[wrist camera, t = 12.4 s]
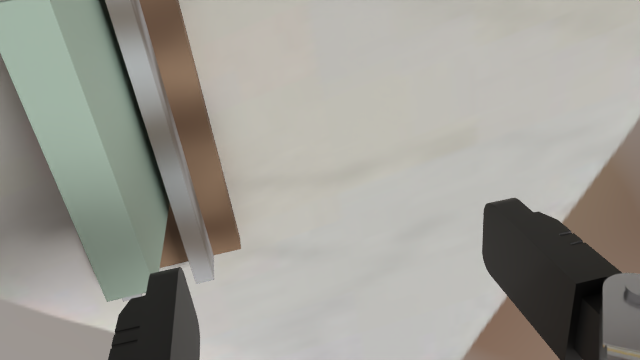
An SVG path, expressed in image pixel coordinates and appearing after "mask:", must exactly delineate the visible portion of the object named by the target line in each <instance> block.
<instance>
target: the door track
mask: <svg viewBox="0 0 640 360" xmlns="http://www.w3.org/2000/svg"><path fill="white" fill-rule="evenodd" d="M0 1H1V0H0ZM105 2H106V5H107V8H108V11H109V14H110V18H111V21H112V24H113V27H114V30H115V33H116V36H117V39H118V42H119V46H120V49H121V52H122V55H123V58H124V61H125V64H126V67H127V71H128V74H129V77H130V80H131V83H132V86H133V89H134V92H135V95H136V99H137V102H138V105H139V108H140V111H141V114H142V117H143V120H144V123H145V127H146V130H147V133H148V136H149V139H150V142H151V145H152V148H153V151H154V155H155V158H156V161H157V164H158V167H159V170H160V173H161V176H162V179H163V183H164V186H165V189H166V192H167V195H168V198H169V201H170V205H169V211H168V218H167V224H166V230H165V237H164V243H163V250H162V256H161V262H160V268H161V267H165V266H170V265H174V264H178V263H182V262H187V261H189V264H190V267H191V270H192V273H193V276H194V279H195V282H196V284H198V283H202V282H206V281H210V280H214V255H216V254H221V253H225V252H229V251H234V250H238V249H241V244H240V237H239V233H238V229H237V225H236V221H235V217H234V214H233V210H232V206H231V202H230V198H229V194H228V190H227V187H226V183H225V179H224V175H223V171H222V167H221V163H220V160H219V156H218V152H217V148H216V144H215V140H214V136H213V133H212V129H211V125H210V121H209V117H208V113H207V109H206V106H205V102H204V98H203V94H202V90H201V86H200V82H199V79H198V75H197V71H196V67H195V63H194V59H193V55H192V52H191V48H190V44H189V40H188V36H187V32H186V28H185V25H184V21H183V17H182V13H181V9H180V5H179V1H178V0H105ZM141 296H142V294H138V295H133V296H129V297H125V298H122V300H123V301H127V300H130V299H131V298H136V297H141Z"/></svg>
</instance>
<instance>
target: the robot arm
mask: <svg viewBox="0 0 640 360" xmlns="http://www.w3.org/2000/svg"><path fill="white" fill-rule="evenodd" d="M482 254H483V260H484V263H485V266H486V268H487V270H488V272H489V274H490V275H491V276H492V277H493V279H494V280H495V281H496V282H497V284H498V285H499V286H500V287H501V288H502V290H503V291H504V292H505V293H506V294H507V296H508V297H509V298H510V299H511V301H512V302H513V303H514V304H515V305H516V307H517V308H518V309H519V310H520V311H521V313H522V314H523V315H524V316H525V317H526V319H527V320H528V321H529V322H530V324H531V325H532V326H533V327H534V328H535V330H536V331H537V332H538V333H539V334H540V336H541V337H542V338H543V339H544V341H545V342H546V343H547V344H548V345H549V347H550V348H551V349H552V350H553V352H554V353H555V354H556V355H557V356H558V358H559V359H560V360H640V274H635V273H622V272H620V271H619V270H618V269H617V268H615V267H614V266H613V265H612V264H611V263H609V262H608V261H607V260H606V259H605V258H603V257H602V256H601V255H600V254H598V253H597V252H596V251H595V250H594V249H592V248H591V247H590V246H589V245H588V244H586V243H583V242H582V240H581V239H580V238H579V237H578V236H577V235H575V234H574V233H573V234H572V233H571V231H570V230H569V229H568V228H567V227H566V226H564V225H563V224H562V223H561V222H560V221H558V220H557V219H554V218H552V217H550V216H547V215H545V214H543V213H540V212H532V211H531V210H530V209H529V208H528V207H527V206H525V205H524V204H523V203H522V202H521V201H520V200H518V199H517V198H510V199H506V200H501V201H496V202H491V203H487V204H486V205H485V208H484V220H483V246H482ZM199 357H200V332H199V324H198V319H197V315H196V311H195V308H194V305H193V302H192V298H191V295H190V292H189V288H188V285H187V282H186V278H185V275H184V272H183V270H182V268H181V267H179V268H174V269H170V270H165V271H160V272H155V273H151V274H150V275H149V279H148V285H147V291H146V295H145V296H141V297H136V298H131V299H130V301H129V302H128V303H127V305H126V306H125V307H124V309H123V310H122V311H121V313H120V314H119V316H118V321H117V325H116V329H115V335H114V337H113V342H112V349H111V350H110V354H109V358H108V360H199Z"/></svg>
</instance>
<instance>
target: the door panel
mask: <svg viewBox="0 0 640 360" xmlns="http://www.w3.org/2000/svg"><path fill="white" fill-rule="evenodd" d="M0 53H1V56H2V58H3V60H4V63H5V65H6V67H7V70H8V72H9V74H10V77H11V79H12V81H13V84H14V86H15V88H16V91H17V93H18V95H19V98H20V100H21V102H22V105H23V107H24V109H25V112H26V114H27V116H28V119H29V121H30V123H31V126H32V128H33V130H34V133H35V135H36V137H37V140H38V142H39V144H40V147H41V149H42V151H43V154H44V156H45V158H46V161H47V163H48V165H49V168H50V170H51V172H52V175H53V177H54V179H55V182H56V184H57V186H58V189H59V191H60V193H61V196H62V198H63V200H64V203H65V205H66V207H67V210H68V212H69V214H70V217H71V219H72V221H73V224H74V226H75V228H76V231H77V233H78V235H79V238H80V240H81V242H82V245H83V247H84V249H85V252H86V254H87V256H88V259H89V261H90V263H91V266H92V268H93V270H94V273H95V275H96V277H97V280H98V282H99V284H100V287H101V289H102V291H103V294H104V296H105V298H106V301H107V302H108V301H113V300H117V299H121V298H125V297H129V296H133V295H138V294H142V293H146V291H147V285H148V279H149V275H150V274H151V273H155V272H159V269H160V262H161V256H162V250H163V243H164V237H165V230H166V224H167V218H168V211H169V205H170V201H169V198H168V195H167V192H166V189H165V186H164V183H163V179H162V176H161V173H160V170H159V167H158V164H157V161H156V158H155V155H154V151H153V148H152V145H151V142H150V139H149V136H148V133H147V130H146V127H145V123H144V120H143V117H142V114H141V111H140V108H139V105H138V102H137V99H136V95H135V92H134V89H133V86H132V83H131V80H130V77H129V74H128V71H127V67H126V64H125V61H124V58H123V55H122V52H121V49H120V46H119V42H118V39H117V36H116V33H115V30H114V27H113V24H112V21H111V18H110V14H109V11H108V8H107V5H106V2H105V0H1V1H0Z"/></svg>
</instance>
